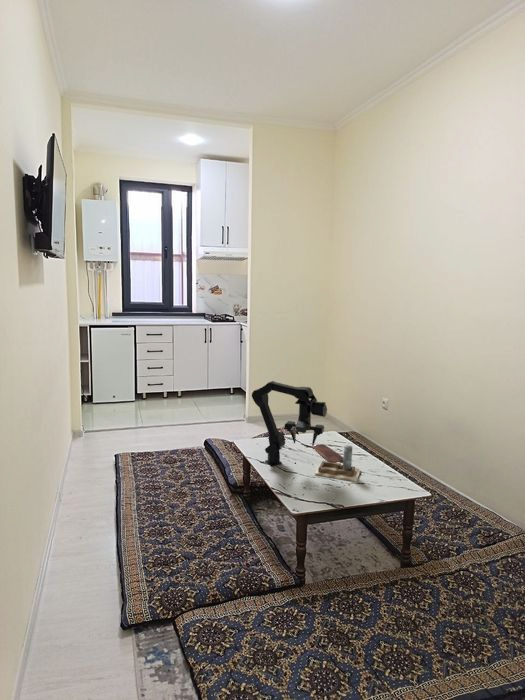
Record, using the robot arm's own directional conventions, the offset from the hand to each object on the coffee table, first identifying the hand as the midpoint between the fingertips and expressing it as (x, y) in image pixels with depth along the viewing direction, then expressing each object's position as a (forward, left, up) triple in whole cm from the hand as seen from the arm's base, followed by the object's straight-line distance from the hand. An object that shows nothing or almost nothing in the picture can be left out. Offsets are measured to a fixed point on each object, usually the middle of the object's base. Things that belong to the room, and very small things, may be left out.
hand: (303, 444), depth 232 cm
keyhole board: (+12, +12, -13) cm, 22 cm away
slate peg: (+15, +15, -12) cm, 25 cm away
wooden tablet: (-10, +25, -14) cm, 30 cm away
